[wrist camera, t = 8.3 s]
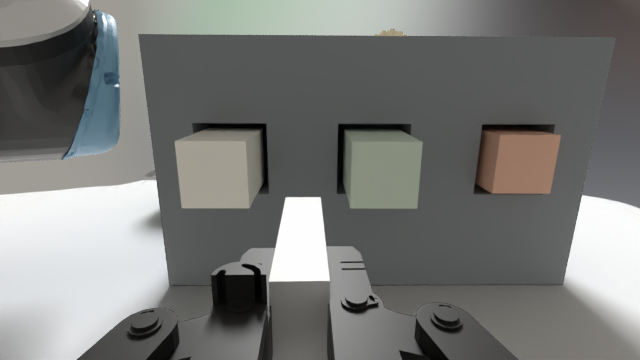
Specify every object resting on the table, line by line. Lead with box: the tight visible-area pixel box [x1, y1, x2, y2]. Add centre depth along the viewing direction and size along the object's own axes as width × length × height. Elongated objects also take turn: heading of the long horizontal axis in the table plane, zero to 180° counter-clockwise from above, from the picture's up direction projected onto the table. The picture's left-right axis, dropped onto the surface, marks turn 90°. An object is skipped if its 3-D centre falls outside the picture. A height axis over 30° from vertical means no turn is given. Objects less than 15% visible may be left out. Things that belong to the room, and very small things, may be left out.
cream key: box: [175, 128, 265, 208], centre depth 25 cm, size 4×7×4 cm, turn 1°
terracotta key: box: [475, 125, 561, 194], centre depth 29 cm, size 4×7×4 cm, turn 1°
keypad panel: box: [139, 34, 615, 285], centre depth 31 cm, size 34×8×20 cm, turn 91°
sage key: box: [342, 129, 423, 209], centre depth 25 cm, size 4×7×4 cm, turn 1°
